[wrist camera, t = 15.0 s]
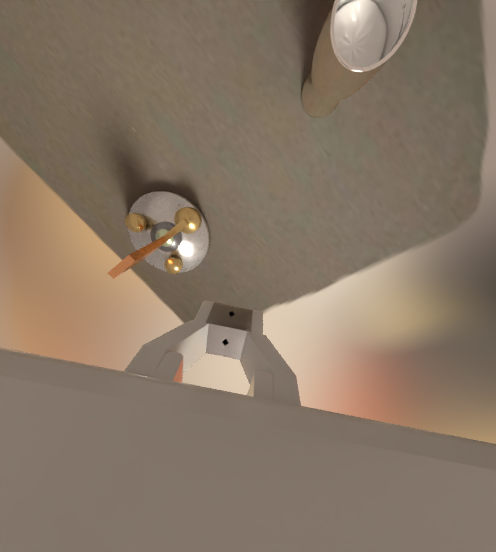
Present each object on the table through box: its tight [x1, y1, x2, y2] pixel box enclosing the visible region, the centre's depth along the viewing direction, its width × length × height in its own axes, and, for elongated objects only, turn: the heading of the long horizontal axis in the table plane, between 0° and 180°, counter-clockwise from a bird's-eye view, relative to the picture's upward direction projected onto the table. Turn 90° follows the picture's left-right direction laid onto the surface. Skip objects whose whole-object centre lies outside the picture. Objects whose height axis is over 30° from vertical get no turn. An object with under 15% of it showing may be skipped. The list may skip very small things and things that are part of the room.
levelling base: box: [125, 191, 210, 274], centre depth 39 cm, size 17×17×3 cm
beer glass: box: [302, 0, 417, 118], centre depth 22 cm, size 7×7×15 cm
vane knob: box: [108, 207, 202, 278], centre depth 33 cm, size 14×5×12 cm, turn 126°
